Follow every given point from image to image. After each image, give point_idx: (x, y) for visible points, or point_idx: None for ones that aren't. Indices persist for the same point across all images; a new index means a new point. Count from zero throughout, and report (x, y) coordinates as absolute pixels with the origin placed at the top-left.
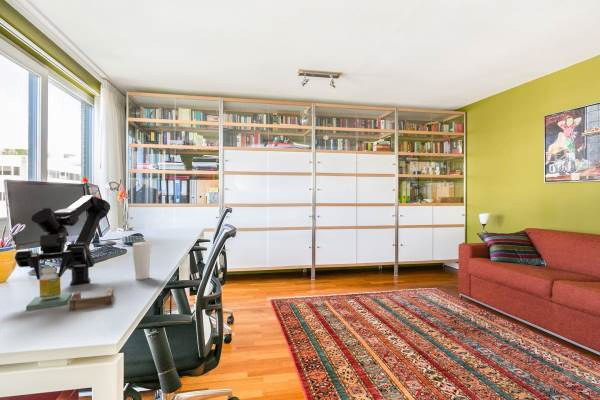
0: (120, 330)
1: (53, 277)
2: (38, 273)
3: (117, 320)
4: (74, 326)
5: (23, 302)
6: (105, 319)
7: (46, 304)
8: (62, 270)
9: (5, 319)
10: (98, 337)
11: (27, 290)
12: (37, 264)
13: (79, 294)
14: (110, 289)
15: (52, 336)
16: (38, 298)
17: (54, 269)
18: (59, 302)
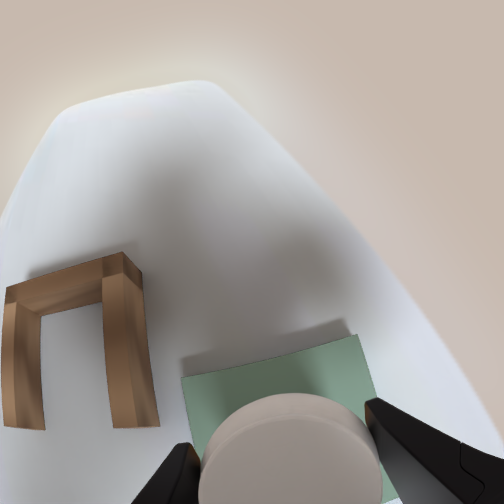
0: (44, 139)
1: (227, 419)
2: (388, 426)
3: (36, 178)
4: (109, 153)
5: None
6: (52, 185)
7: (269, 360)
8: (150, 486)
9: (362, 235)
10: (75, 117)
11: None
12: (471, 489)
13: (110, 385)
14: (7, 390)
15: (145, 115)
16: None
17: (211, 462)
18: (209, 373)
